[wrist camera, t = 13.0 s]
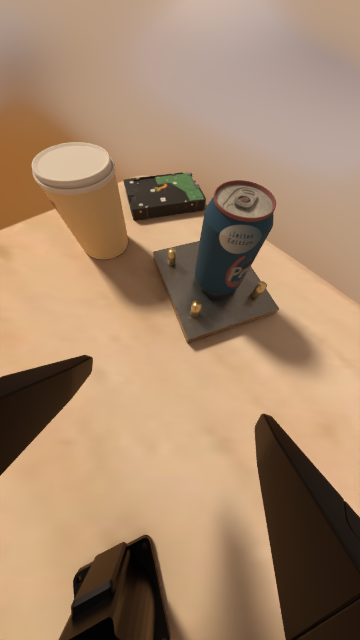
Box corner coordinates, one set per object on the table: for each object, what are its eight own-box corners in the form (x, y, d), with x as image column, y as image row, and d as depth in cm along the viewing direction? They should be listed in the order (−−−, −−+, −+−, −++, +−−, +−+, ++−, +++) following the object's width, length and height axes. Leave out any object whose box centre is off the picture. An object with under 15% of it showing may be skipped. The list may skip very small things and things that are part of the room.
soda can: (229, 306, 25) (271, 233, 15) (185, 286, 27) (195, 205, 16) (245, 273, 28) (290, 190, 17) (205, 256, 29) (224, 169, 18)
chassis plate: (273, 313, 27) (289, 299, 23) (187, 343, 24) (189, 332, 21) (226, 241, 33) (233, 220, 29) (153, 258, 31) (151, 239, 27)
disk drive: (134, 224, 35) (205, 212, 37) (131, 210, 33) (207, 197, 35) (125, 193, 39) (189, 183, 41) (122, 178, 37) (190, 169, 39)
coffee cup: (90, 222, 34) (51, 136, 23) (138, 229, 34) (122, 145, 23) (69, 259, 30) (11, 176, 19) (124, 267, 30) (96, 187, 19)
